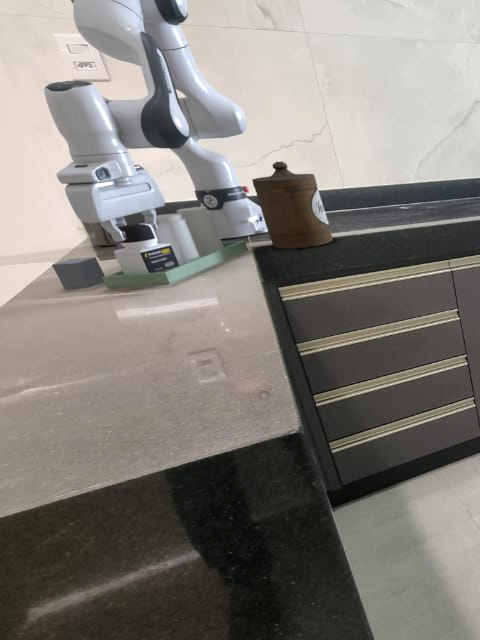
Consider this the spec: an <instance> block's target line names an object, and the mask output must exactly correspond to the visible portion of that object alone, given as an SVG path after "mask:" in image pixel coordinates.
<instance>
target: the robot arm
mask: <svg viewBox="0 0 480 640" xmlns="http://www.w3.org/2000/svg"><path fill="white" fill-rule="evenodd" d="M70 1H71V3H72V6H73V7H72V9H73V11H72V12H73V21H74V25H75V27H76V30H77V31H78V33H79V34H80V36H81V37H82V38H83V39H84V40H85V41H86V42H87V43H88V44H89V45H90V46H91V47H93V48H94V49H95V50H97V51H98V52H100V53H102V54H104V55H105V56H108V57H110V58H111V59H115V60H118V61H121V62H125V63H129V64H133V65H135V66H139V67H141V68H140V69H141V71H142V75H143V78H144V83H145V85H146V89H147V95H145V96H144V97H142V98H138V99H109V98H107V97H104V96H102V94H101V92H100V91H99V89H98V88H97V86H96V85H95V84H94V83H92V82H90V81H86V80H65V81H56V82H52V83H49V84H47V85H46V86H44V87H43V88H44V89H43V90H44V96H45V101H46V104H47V107H48V110H49V112H50V115H51V117H52V120H53V122H54V124H55V126H56V129H57V131H58V132H59V134H60V135H61V137H62V138H63V139H64V140H65V141H66V143H67V146H68V153H69V155H70V157H71V160H72V161H71V162H70V163H69V164H68V165H66V166H65V167H64V168H61V170H59V171H58V172H57V173H56V179H57V180H58V181H59V182H60V184H62V185H65V187H64V192H65V195H66V198H67V200H68V202H69V204H70V207H71V209H72V210H73V212H74V214H75V216H76V217H77V218H78V219H79V220H80V221H82V222H83V223H85V224H89V223H98V222H100V224H101V226H102V227H103V228H104V229H105V230H106V231H108V232H109V233H110V234H111V236H112V238H113V240H114V241H124V240H127V236H126V233H125V231H121V230H120V229H119V228H118V227H117V226H116V225H115V224H117V222H116V220H115V219H116V218H120V217H123V216H124V217H127V216H130V215H131V216H132V215H135V214H139V213H140V214H141V216H143V217H144V224H149V225H151V226H152V228H153V230H154V231H156V230H158V226H157V224H156V216H157V211H156V209H157V208H158V209H159V208H162V207H164V206H165V205H166V200H165V198H164V197H165V196H164V195H163V192H162V191H161V189H160V187H159V185H158V184H157V182H156V180H155V179H154V178H153V176H152V175H150V173H149V171H148V170H147V169H145V168H144V167H143V166H141V165H140V164H134V162H133V160H132V157H131V155H130V152H129V149H132V150H135V149H136V150H138V149H169V150H170V151H171V152H172V153H174V154H175V155H176V156H177V157H178V159H179V160H180V161H181V162H182V164H183V165H184V167H185V170H186V171H187V173H188V176H189V177H190V180H191V182H192V185H193V187H194V189H195V190H194V194H195V198H196V199H197V202H198V203H199V204H200V207H206V208H207V211H209V212H210V213H211V216H212V218H213V221H214V224H215V226H216V229H217V231H218V234H219V237H220V239H221V240H222V239H223V240H224V239H233V238H241V237H246V236H252V235H258V234H260V235H261V234H265V233H269V232H268V229H267V226H266V223H265V220H264V217H263V213H262V210H261V207H260V205H258V204H257V203H256V202H253V201H252V200H251V199H249V198H248V195H247V193H248V194H249V193H250V188H249V186H247V185H244V186H241V185H240V182H239V180H238V177H237V174H236V170H235V168H234V165H233V163H232V162H231V160H230V159H229V158H228V157H227V156H225V155H223V154H221V153H218V152H215V151H213V150H208V149H206V148H204V147H202V146H201V145H200V144H199V142H198V141H200V140H209V139H224V138H226V139H227V138H231V137H236V136H239V135H243V134H244V132H245V131H246V129H247V126H248V122H247V117H246V113H245V111H244V110H243V109H242V107H241V106H240V105H239V104H238V103H237V102H235V101H234V100H232V99H231V98H229V97H227V96H225V95H223V94H222V93H220V92H219V91H218V90H216V89H215V88H214V87H213V86H212V85H210V83H209V82H207V80H206V79H205V77H204V76H203V74H202V73H201V71H200V70H199V68H198V65H197V63H196V61H195V59H194V57H193V54H192V51H191V49H190V46H189V43H188V41H187V39H186V36H185V34H184V32H183V30H182V28H181V25H180V24H183V23H184V22H185V21H186V20H187V19H188V17H189V7H188V6H189V5H188V1H187V0H70ZM177 91H179V92H180V93H182V94H183V95H184V96H185V97H179V95H178V92H177Z"/></svg>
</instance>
